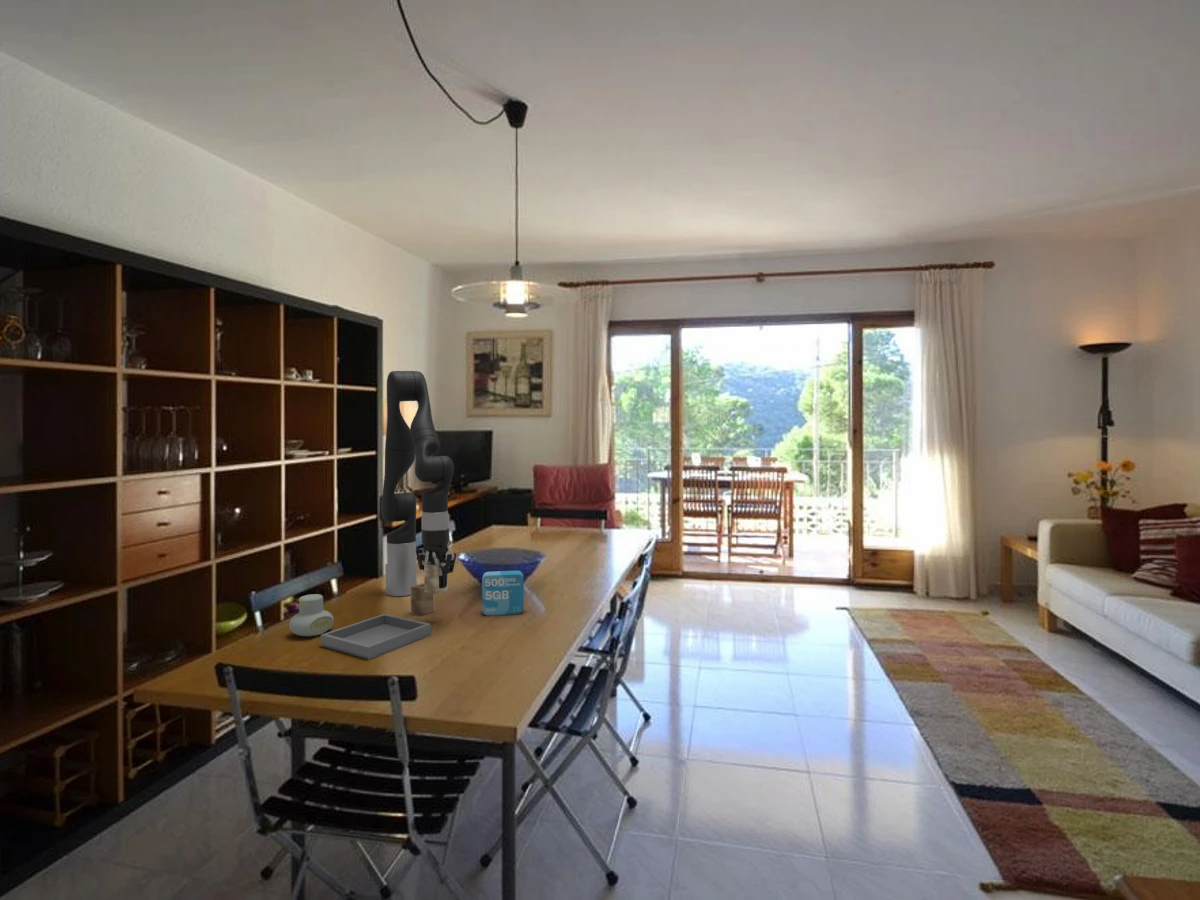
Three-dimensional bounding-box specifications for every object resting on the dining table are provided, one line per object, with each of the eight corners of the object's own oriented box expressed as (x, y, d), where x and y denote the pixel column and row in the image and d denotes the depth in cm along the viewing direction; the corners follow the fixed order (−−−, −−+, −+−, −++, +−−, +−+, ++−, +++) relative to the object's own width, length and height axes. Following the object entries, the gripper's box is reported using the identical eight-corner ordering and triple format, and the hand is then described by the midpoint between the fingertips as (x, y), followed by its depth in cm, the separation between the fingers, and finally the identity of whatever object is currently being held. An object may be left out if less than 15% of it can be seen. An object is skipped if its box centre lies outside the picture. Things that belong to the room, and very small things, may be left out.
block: (424, 591, 178) (424, 563, 177) (436, 588, 181) (435, 560, 181) (436, 594, 175) (435, 565, 175) (447, 590, 179) (447, 562, 179)
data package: (482, 616, 183) (481, 575, 183) (483, 611, 188) (482, 571, 187) (523, 614, 185) (523, 573, 185) (523, 609, 190) (523, 570, 189)
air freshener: (302, 642, 162) (301, 604, 162) (283, 636, 167) (282, 599, 166) (339, 630, 172) (338, 594, 171) (320, 625, 176) (319, 590, 176)
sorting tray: (321, 646, 159) (320, 634, 159) (384, 624, 176) (384, 613, 176) (368, 659, 150) (368, 647, 150) (430, 635, 167) (430, 624, 167)
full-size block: (411, 613, 186) (410, 586, 186) (422, 609, 190) (422, 582, 190) (422, 615, 184) (421, 588, 184) (433, 611, 188) (432, 584, 187)
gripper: (407, 526, 178) (408, 586, 179) (444, 531, 170) (445, 593, 171) (427, 522, 184) (428, 580, 185) (463, 527, 177) (464, 587, 178)
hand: (436, 586), depth 178 cm, fingers closed on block, 4 cm apart
